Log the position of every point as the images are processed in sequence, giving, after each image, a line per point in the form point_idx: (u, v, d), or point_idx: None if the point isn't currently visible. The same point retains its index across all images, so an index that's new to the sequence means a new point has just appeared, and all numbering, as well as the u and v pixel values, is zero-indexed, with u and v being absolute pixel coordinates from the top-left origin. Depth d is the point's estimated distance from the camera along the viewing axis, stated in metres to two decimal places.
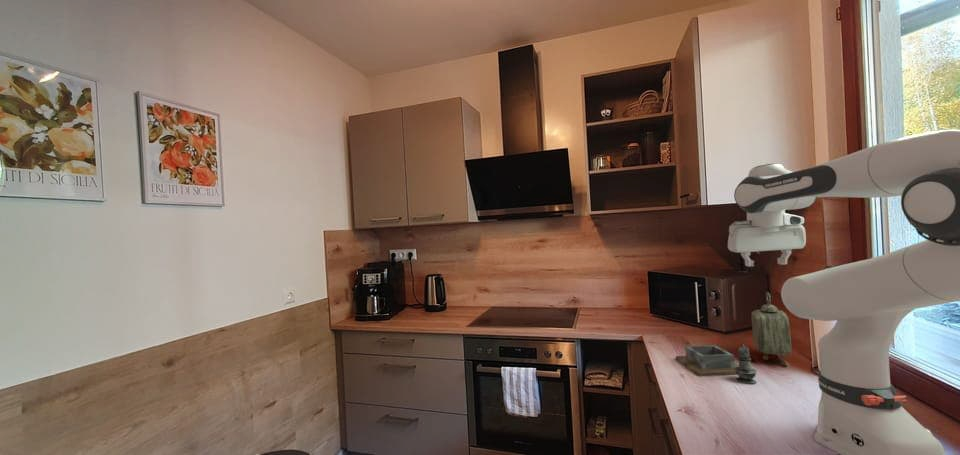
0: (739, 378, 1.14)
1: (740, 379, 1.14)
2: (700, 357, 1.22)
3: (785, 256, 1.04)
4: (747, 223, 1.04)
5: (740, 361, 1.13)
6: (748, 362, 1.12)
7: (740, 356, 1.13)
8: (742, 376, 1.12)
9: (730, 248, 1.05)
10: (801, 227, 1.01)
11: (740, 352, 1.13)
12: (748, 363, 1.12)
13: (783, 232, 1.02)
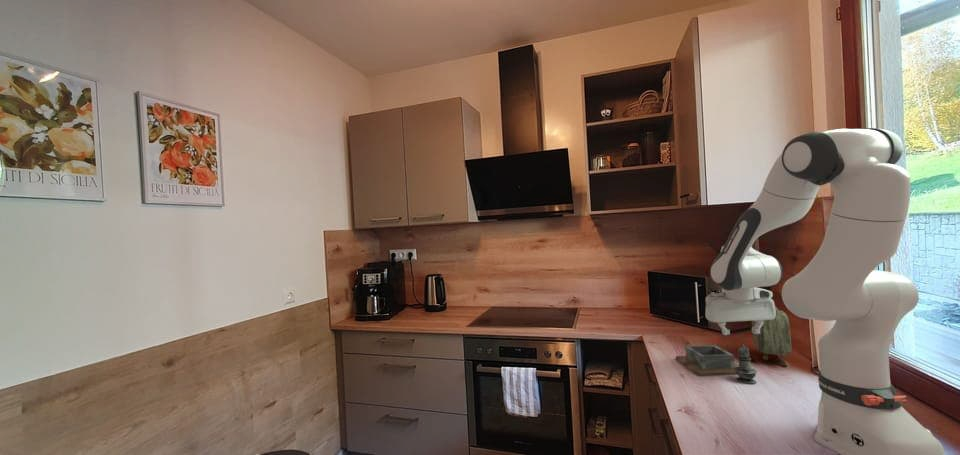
0: (739, 378, 1.14)
1: (740, 379, 1.14)
2: (700, 357, 1.22)
3: (758, 326, 1.13)
4: (721, 295, 1.14)
5: (740, 361, 1.13)
6: (748, 362, 1.12)
7: (740, 356, 1.13)
8: (742, 376, 1.12)
9: (707, 318, 1.15)
10: (770, 300, 1.11)
11: (740, 352, 1.13)
12: (748, 363, 1.12)
13: (754, 304, 1.12)
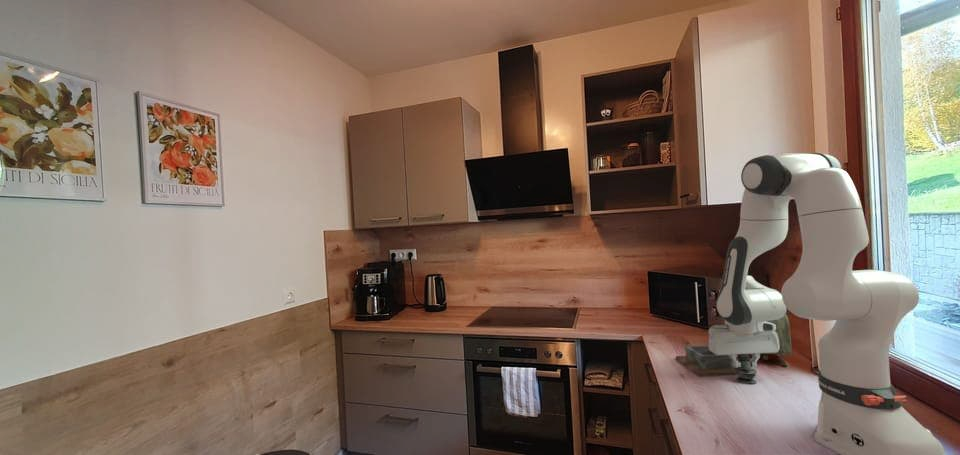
0: (739, 378, 1.14)
1: (740, 378, 1.14)
2: (700, 357, 1.22)
3: (754, 359, 1.13)
4: (725, 327, 1.14)
5: (740, 361, 1.13)
6: (748, 362, 1.12)
7: (740, 356, 1.13)
8: (742, 376, 1.12)
9: (711, 350, 1.14)
10: (774, 333, 1.11)
11: None
12: (748, 363, 1.12)
13: (758, 336, 1.12)
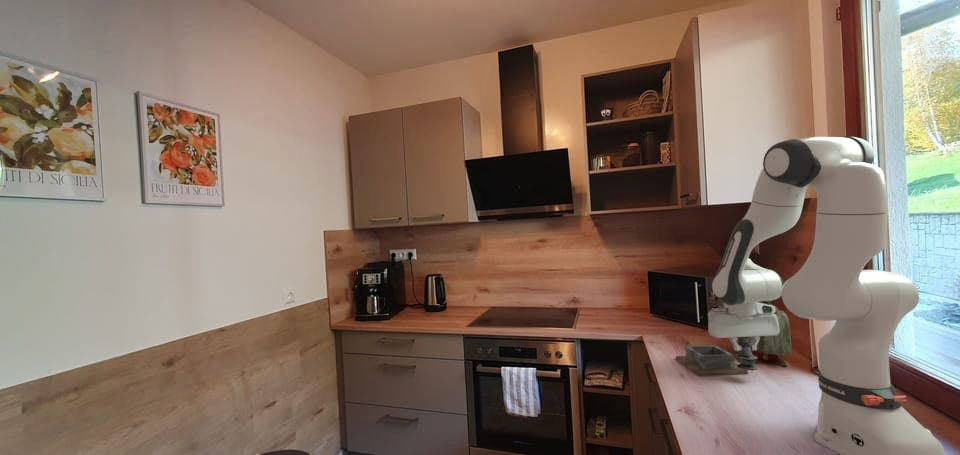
0: (740, 364, 1.14)
1: (741, 365, 1.13)
2: (700, 357, 1.22)
3: (754, 342, 1.12)
4: (724, 310, 1.13)
5: None
6: (748, 348, 1.11)
7: (740, 342, 1.13)
8: (743, 362, 1.11)
9: (710, 333, 1.14)
10: (773, 315, 1.10)
11: (740, 337, 1.13)
12: (748, 349, 1.11)
13: (758, 319, 1.12)
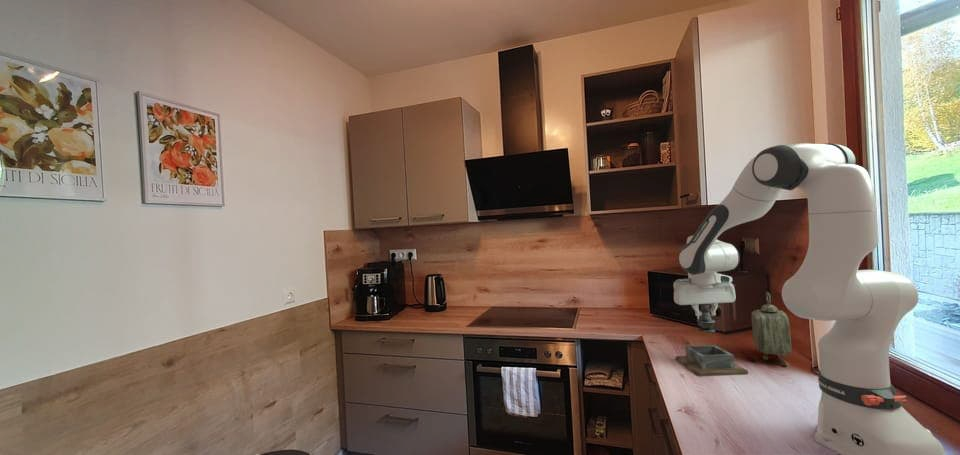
0: (701, 328, 1.28)
1: (702, 328, 1.27)
2: (700, 357, 1.22)
3: (713, 309, 1.26)
4: (687, 280, 1.27)
5: None
6: (708, 313, 1.26)
7: (701, 308, 1.27)
8: (702, 326, 1.26)
9: (675, 301, 1.28)
10: (730, 285, 1.24)
11: (701, 304, 1.27)
12: (708, 314, 1.26)
13: (717, 288, 1.25)
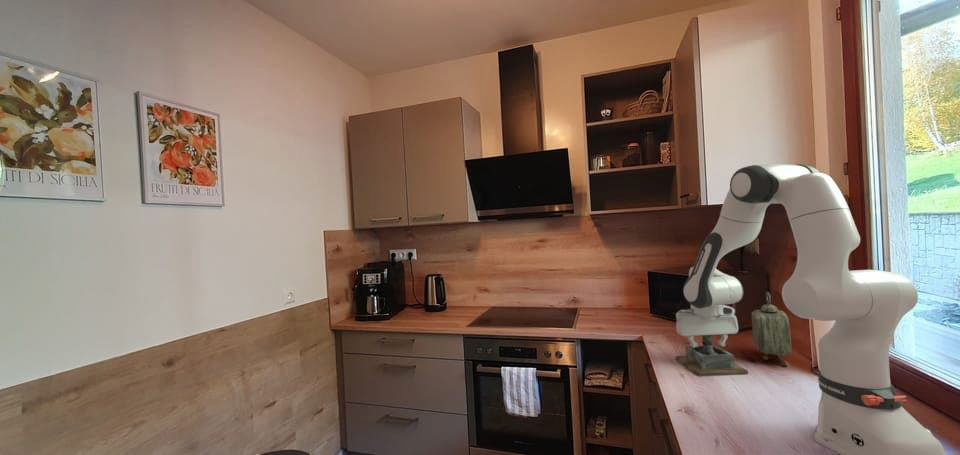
0: None
1: None
2: (700, 357, 1.22)
3: (723, 339, 1.26)
4: (690, 311, 1.27)
5: (704, 345, 1.26)
6: (710, 346, 1.25)
7: (704, 340, 1.26)
8: None
9: (678, 332, 1.28)
10: (733, 316, 1.24)
11: (703, 336, 1.26)
12: (710, 346, 1.25)
13: (719, 319, 1.25)
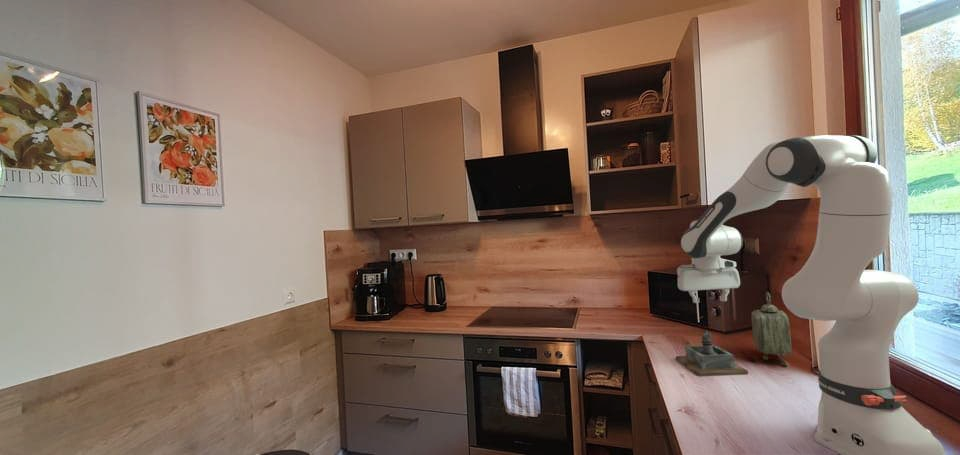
0: None
1: None
2: (700, 357, 1.22)
3: (725, 294, 1.25)
4: (691, 266, 1.26)
5: (703, 345, 1.26)
6: (710, 346, 1.25)
7: (703, 341, 1.26)
8: None
9: (679, 287, 1.26)
10: (734, 270, 1.23)
11: (703, 337, 1.26)
12: (710, 347, 1.25)
13: (721, 273, 1.24)
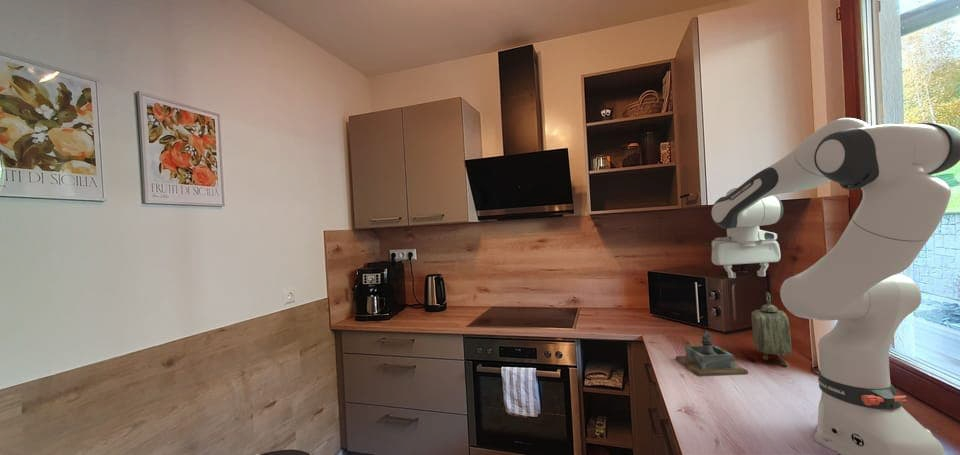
0: None
1: None
2: (700, 357, 1.22)
3: (763, 269, 1.16)
4: (727, 239, 1.17)
5: (703, 345, 1.26)
6: (710, 346, 1.25)
7: (703, 341, 1.26)
8: None
9: (714, 261, 1.18)
10: (775, 242, 1.14)
11: (703, 337, 1.26)
12: (710, 347, 1.25)
13: (760, 246, 1.15)
